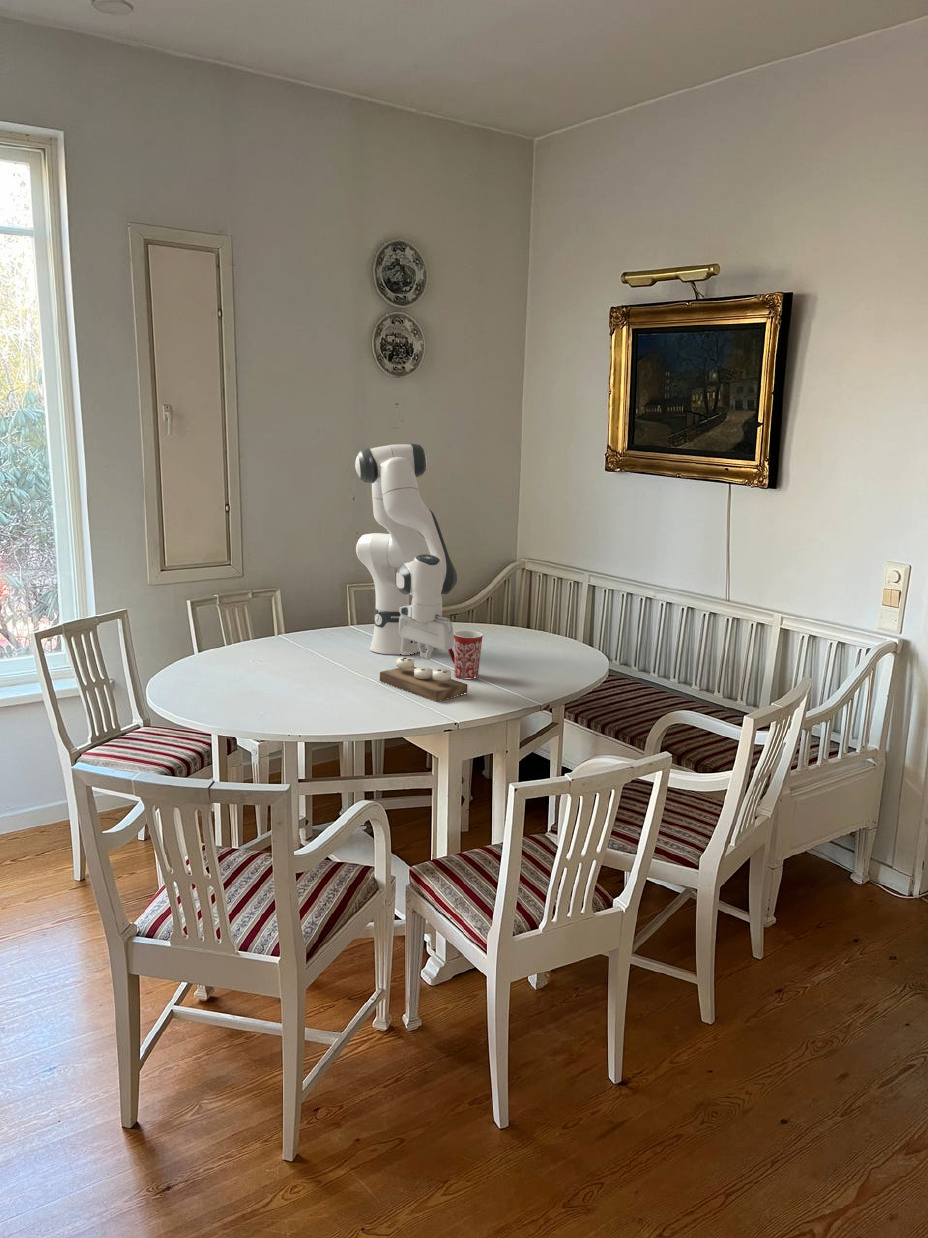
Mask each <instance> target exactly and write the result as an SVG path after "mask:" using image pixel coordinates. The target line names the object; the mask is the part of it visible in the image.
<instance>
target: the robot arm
mask: <svg viewBox="0 0 928 1238" xmlns="http://www.w3.org/2000/svg"><path fill="white" fill-rule="evenodd" d="M426 454H427V453H426V452H425V449H424V447H423V446H421V444H417V443H408V444H407V443H406V444H405V443H404V444H403V443H402V444H401V443H399V444H388V445H383V446H378V447H372V448H369V447H367V448H363V449H361V450H359V452H358V453H357V455H356V459H355V461H354V467H355V471H356V474H357V476H358V478H359V480H361V482H363V483H367V484H371V499H372V509H373V517H374V519H375V521H376V523H378V524H379V525H380V526H382V527H383V528H385V529H386V531H387V532H388V533H383V532H382V533H381V532H373V533H365V534H362V535H361V536H360V538H358V540H357V542H356V545H355V553H356V557H357V558H358V560H359V561H360V562H361V563H362V564H363V565H364V566H365V568H367V570H368V572H369V573H370V575H371V578H372V580H373V584H374V591H375V607H374V608H373V620H374V626H373V627H374V628H373V635H372V638H371V639H372V640H371V644H370V646H369V650H370V651H372V652H374V653H378V654H382V655H400V654H401V656H411V655H414V653H415V654H417V652H418V653H419V657H420V658H422V659H424V660H427V661H428V660H431V658H432V653H433V652H434V650H435V648H436V649H438V650H442V651H448V649H453V647H454V628H453V622H452V621H451V620H450V618H449V617H447V616H444V615H443V598H442V595H448V594H450V592H452V590H453V589H454V588H455V586H456V585H457V582H458V574H457V571H456V567H455V565H454V564H453V561H452V560H451V558H450V555H449V552H448V549H447V546H446V543H445V540H444V537H443V534H442V532H441V528H440V526H439V523H438V521H437V518H436V515H435V513H434V512H433V511H432V509H429V508H428V507H427V505H426V503H424V501H423V499H422V497H421V494H420V489H419V485H418V480H417V478H418V477H421V476H423V474H425V472H426V470H427V465H428V458H427V455H426ZM395 569H396V571H395ZM410 596H411V597H412V599H411V604H409V603H410ZM426 649H427V650H426ZM410 654H411V655H410Z"/></svg>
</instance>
